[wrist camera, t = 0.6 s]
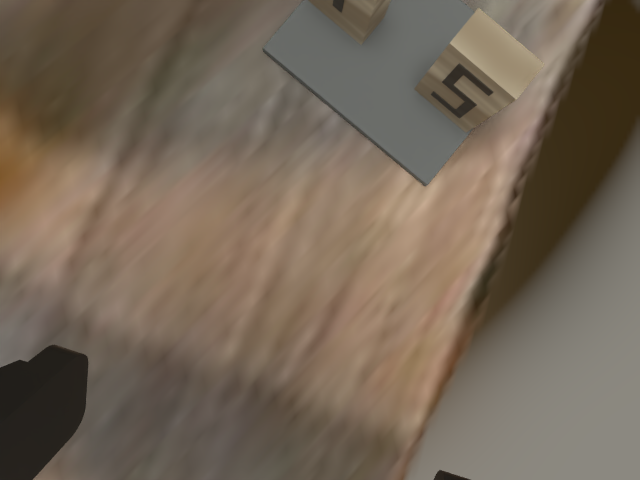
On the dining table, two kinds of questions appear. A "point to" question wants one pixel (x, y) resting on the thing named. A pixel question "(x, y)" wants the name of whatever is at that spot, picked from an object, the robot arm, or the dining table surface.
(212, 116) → the dining table surface
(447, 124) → the mat
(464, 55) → the tile
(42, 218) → the dining table surface
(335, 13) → the tile
